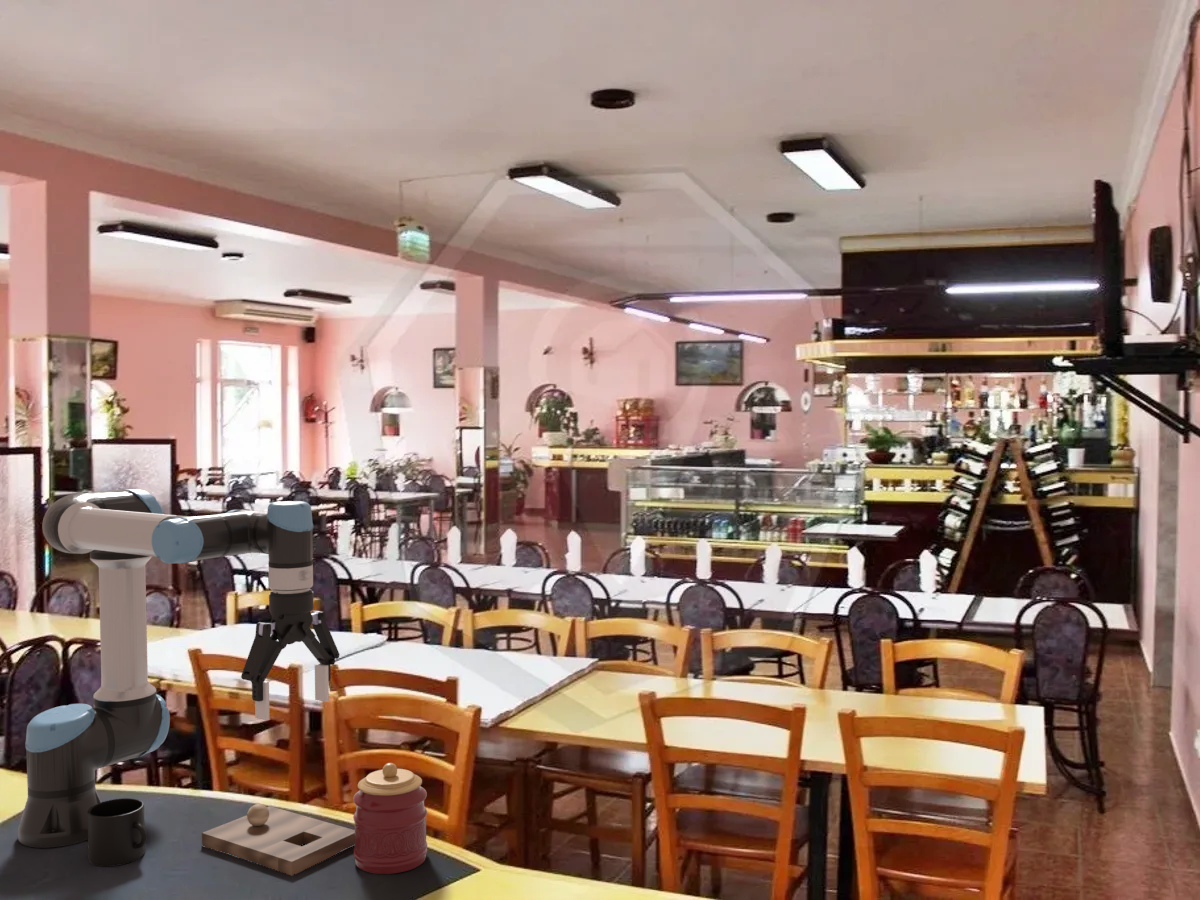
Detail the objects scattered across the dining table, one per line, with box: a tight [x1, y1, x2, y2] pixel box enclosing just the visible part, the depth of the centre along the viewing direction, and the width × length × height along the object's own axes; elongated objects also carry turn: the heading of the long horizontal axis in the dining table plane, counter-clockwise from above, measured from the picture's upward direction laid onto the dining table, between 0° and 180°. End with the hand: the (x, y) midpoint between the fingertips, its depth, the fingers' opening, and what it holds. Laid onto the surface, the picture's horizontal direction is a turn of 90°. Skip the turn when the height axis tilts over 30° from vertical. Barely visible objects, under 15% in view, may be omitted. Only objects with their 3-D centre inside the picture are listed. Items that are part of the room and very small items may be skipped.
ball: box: [246, 803, 269, 826], centre depth 208 cm, size 4×4×4 cm
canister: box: [352, 762, 428, 875], centre depth 198 cm, size 13×13×18 cm
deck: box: [201, 805, 355, 877], centre depth 205 cm, size 24×16×2 cm, turn 58°
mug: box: [87, 797, 147, 867], centre depth 199 cm, size 9×12×9 cm
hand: (293, 709), depth 195 cm, fingers open, 13 cm apart
